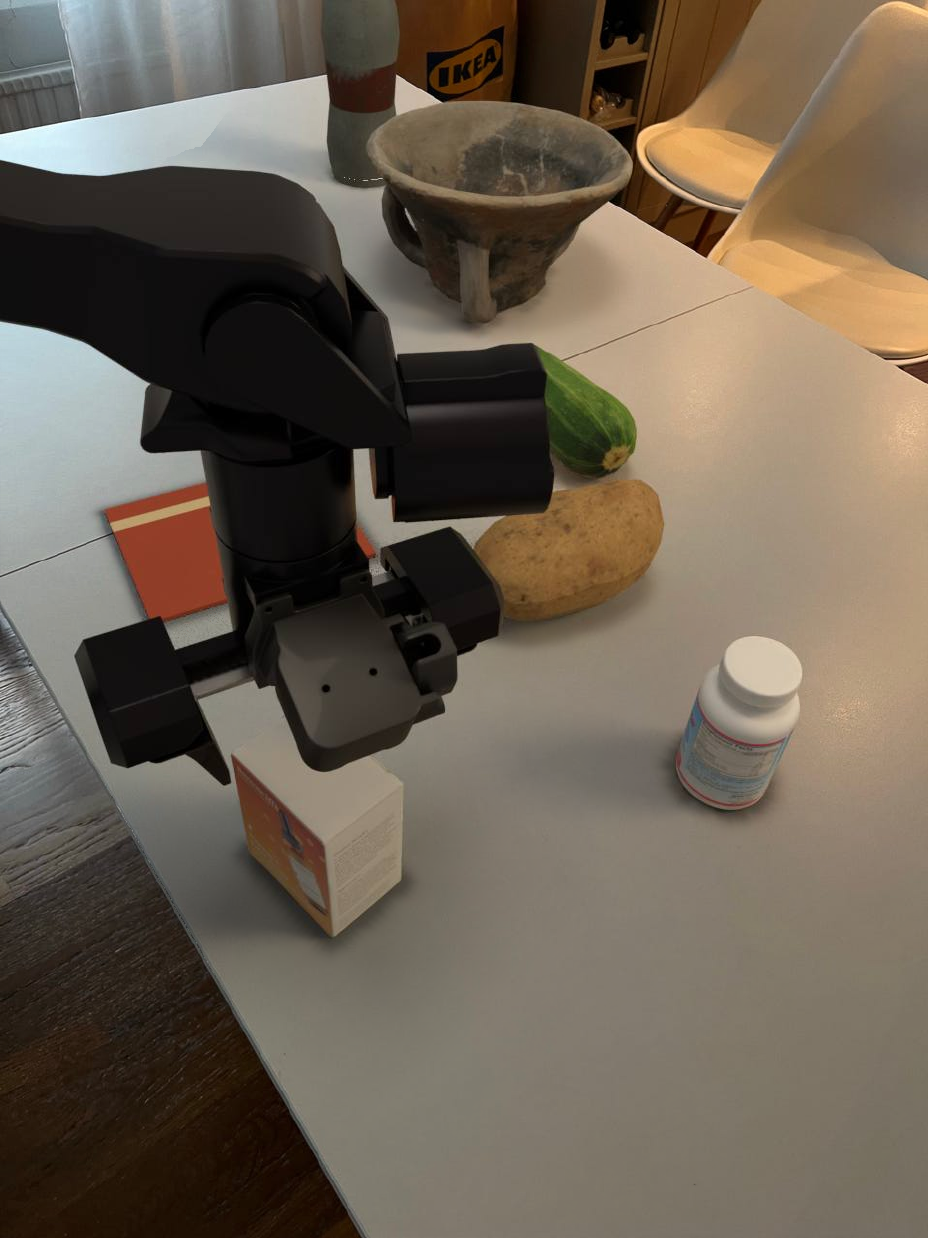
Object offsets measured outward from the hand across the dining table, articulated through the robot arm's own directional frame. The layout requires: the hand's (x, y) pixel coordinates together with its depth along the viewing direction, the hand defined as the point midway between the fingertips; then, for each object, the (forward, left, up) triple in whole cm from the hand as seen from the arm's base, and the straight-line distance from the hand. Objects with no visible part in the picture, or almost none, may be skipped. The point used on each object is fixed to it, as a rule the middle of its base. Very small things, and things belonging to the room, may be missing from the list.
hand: (311, 745), depth 52 cm
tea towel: (+5, +31, -12) cm, 34 cm away
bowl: (+44, +60, -12) cm, 75 cm away
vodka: (+42, +91, -12) cm, 101 cm away
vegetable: (+36, +33, -12) cm, 50 cm away
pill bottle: (+26, -5, -12) cm, 29 cm away
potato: (+25, +14, -12) cm, 31 cm away
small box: (0, 0, -12) cm, 13 cm away
